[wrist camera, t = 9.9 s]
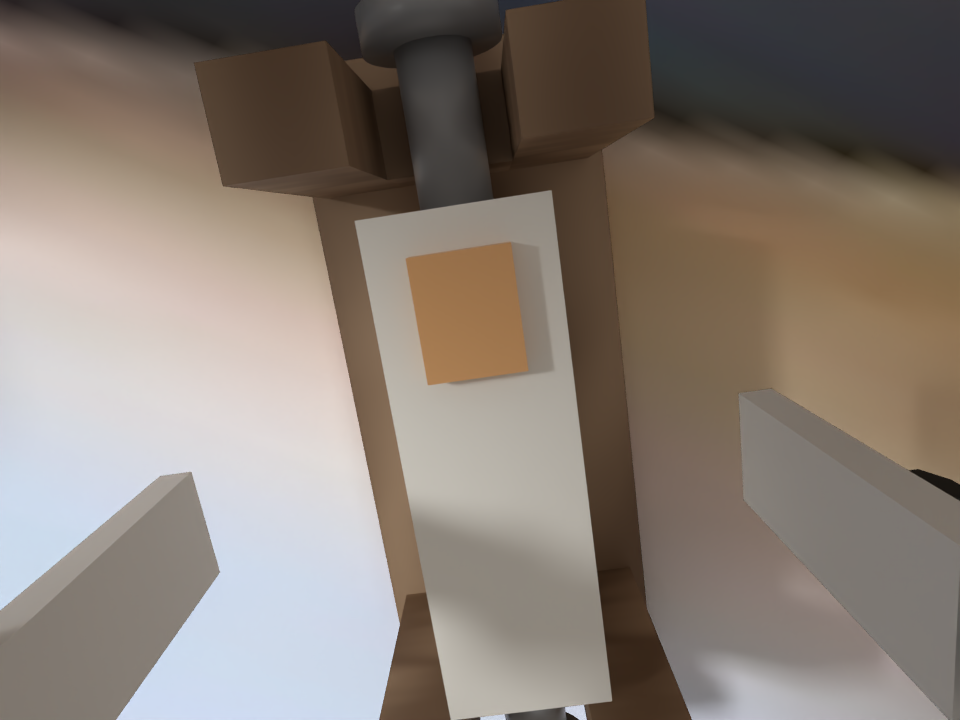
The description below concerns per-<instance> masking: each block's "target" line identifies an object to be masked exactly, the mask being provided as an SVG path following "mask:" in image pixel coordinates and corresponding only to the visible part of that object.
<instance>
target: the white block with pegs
mask: <svg viewBox="0 0 960 720" xmlns="http://www.w3.org/2000/svg"><path fill="white" fill-rule="evenodd" d="M355 18H356V24H357V29H358V35H359V40H360V46H361V52H362V57H363V59H364V60H365V61H366V62H367V63H369V64H371V65H374V66H378V67H384V68H395V69H397V75H398V81H399V87H400V93H401V99H402V104H403V110H404V116H405V122H406V128H407V134H408V140H409V146H410V152H411V158H412V164H413V170H414V176H415V182H416V188H417V194H418V200H419V206H420V211H415V212H408V213H402V214H395V215H389V216H383V217H376V218H370V219H363V220H357V221H355V226H356V231H357V236H358V241H359V246H360V252H361V257H362V262H363V267H364V272H365V278H366V283H367V288H368V293H369V298H370V304H371V309H372V314H373V319H374V324H375V329H376V335H377V340H378V345H379V350H380V355H381V361H382V366H383V371H384V376H385V381H386V386H387V392H388V397H389V402H390V407H391V412H392V418H393V423H394V428H395V433H396V438H397V444H398V449H399V454H400V459H401V464H402V469H403V475H404V480H405V485H406V490H407V495H408V501H409V506H410V511H411V516H412V521H413V527H414V532H415V537H416V542H417V547H418V552H419V558H420V563H421V568H422V573H423V578H424V584H425V589H426V594H427V599H428V604H429V609H430V615H431V620H432V625H433V630H434V635H435V641H436V646H437V651H438V656H439V661H440V667H441V672H442V677H443V682H444V687H445V692H446V698H447V703H448V708H449V713H450V718H451V720H459V719H468V718H476V717H484V716H493V715H501V714H505V718H506V720H578V719H577V718H576V717H574V716H573V715H571V714H569V713H567V712H565V707H568V706H577V705H585V704H593V703H602V702H610V701H612V694H611V686H610V677H609V669H608V660H607V652H606V644H605V635H604V627H603V618H602V610H601V602H600V593H599V585H598V576H597V568H596V560H595V551H594V543H593V534H592V526H591V518H590V509H589V501H588V492H587V484H586V476H585V467H584V459H583V450H582V442H581V434H580V425H579V417H578V408H577V400H576V391H575V383H574V375H573V366H572V358H571V349H570V341H569V333H568V324H567V316H566V307H565V299H564V291H563V282H562V274H561V265H560V257H559V249H558V240H557V232H556V223H555V215H554V207H553V198H552V190H549V191H543V192H537V193H530V194H524V195H517V196H511V197H504V198H498V199H493V192H492V185H491V178H490V171H489V164H488V157H487V150H486V143H485V136H484V128H483V121H482V114H481V107H480V100H479V93H478V86H477V79H476V71H475V64H474V56H477V55H479V54H482V53H484V52H486V51H488V50H490V49H491V48H493V47H494V46H496V45H497V44H498V43H499V42H500V41H501V39H502V30H501V22H500V14H499V7H498V0H361V1H360V2H359V3H358V4H357V6H356V8H355Z"/></svg>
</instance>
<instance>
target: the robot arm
mask: <svg viewBox="0 0 960 720" xmlns="http://www.w3.org/2000/svg"><path fill="white" fill-rule="evenodd" d="M739 414H740V435H741V456H742V477H743V498H744V501H745V502H746V503H747V504H748V505H749V506H750V507H751V508H752V509H753V510H754V512H755V513H756V514H757V515H758V516H759V517H760V518H761V519H762V520H763V521H764V522H765V523H766V524H767V525H768V527H769V528H770V529H771V530H772V531H773V532H774V533H775V534H776V535H777V536H778V537H779V538H780V539H781V541H782V542H783V543H784V544H785V545H786V546H787V547H788V548H789V549H790V550H791V551H792V552H793V553H794V554H795V556H796V557H797V558H798V559H799V560H800V561H801V562H802V563H803V564H804V565H805V566H806V567H807V568H808V569H809V571H810V572H811V573H812V574H813V575H814V576H815V577H816V578H817V579H818V580H819V581H820V582H821V583H822V584H823V586H824V587H825V588H826V589H827V590H828V591H829V592H830V593H831V594H832V595H833V596H834V597H835V598H836V599H837V601H838V602H839V603H840V604H841V605H842V606H843V607H844V608H845V609H846V610H847V611H848V612H849V613H850V615H851V616H852V617H853V618H854V619H855V620H856V621H857V622H858V623H859V624H860V625H861V626H862V627H863V628H864V630H865V631H866V632H867V633H868V634H869V635H870V636H871V637H872V638H873V639H874V640H875V641H876V642H877V643H878V645H879V646H880V647H881V648H882V649H883V650H884V651H885V652H886V653H887V654H888V655H889V656H890V657H891V658H892V660H893V661H894V662H895V663H896V664H897V665H898V666H899V667H900V668H901V669H902V670H903V671H904V672H905V673H906V675H907V676H908V677H909V678H910V679H911V680H912V681H913V682H914V683H915V684H916V685H917V686H918V687H919V689H920V690H921V691H922V692H923V693H924V694H925V695H926V696H927V697H928V698H929V699H930V700H931V701H932V702H933V704H934V705H935V706H936V707H937V708H938V709H939V710H940V711H941V712H942V713H943V714H944V715H945V716H946V717H947V719H948V720H960V484H958V483H956V482H954V481H953V480H950V479H947V478H944V477H941V476H938V475H935V474H932V473H928V472H925V471H922V470H919V469H916V470H907V469H905V468H904V467H902V466H900V465H898V464H897V463H895V462H893V461H892V460H890V459H888V458H887V457H885V456H883V455H882V454H880V453H878V452H877V451H875V450H873V449H872V448H870V447H868V446H867V445H865V444H863V443H862V442H860V441H858V440H857V439H855V438H853V437H852V436H850V435H848V434H847V433H845V432H843V431H842V430H840V429H838V428H837V427H835V426H833V425H831V424H830V423H828V422H826V421H825V420H823V419H821V418H820V417H818V416H816V415H815V414H813V413H811V412H810V411H808V410H806V409H805V408H803V407H801V406H800V405H798V404H796V403H795V402H793V401H791V400H790V399H788V398H786V397H785V396H783V395H781V394H780V393H778V392H776V391H775V390H773V389H765V390H758V391H751V392H744V393H739ZM219 573H220V571H219V567H218V564H217V560H216V557H215V553H214V550H213V546H212V543H211V539H210V536H209V532H208V529H207V525H206V522H205V518H204V515H203V511H202V508H201V504H200V501H199V497H198V494H197V490H196V487H195V483H194V480H193V476H192V473H191V472H186V473H179V474H172V475H165V476H160V477H159V478H157V479H156V480H155V481H154V482H153V483H151V484H150V485H149V486H148V487H147V488H145V489H144V490H143V491H142V492H141V493H140V494H138V495H137V496H136V497H135V498H134V499H132V500H131V501H130V502H129V503H128V504H126V505H125V506H124V507H123V508H122V509H121V510H119V511H118V512H117V513H116V514H115V515H113V516H112V517H111V518H110V519H109V520H107V521H106V522H105V523H104V524H103V525H102V526H100V527H99V528H98V529H97V530H96V531H94V532H93V533H92V534H91V535H90V536H88V537H87V538H86V539H85V540H84V541H82V542H81V543H80V544H79V545H78V546H77V547H75V548H74V549H73V550H72V551H71V552H69V553H68V554H67V555H66V556H65V557H63V558H62V559H61V560H60V561H59V562H58V563H56V564H55V565H54V566H53V567H52V568H50V569H49V570H48V571H47V572H46V573H44V574H43V575H42V576H41V577H40V578H39V579H37V580H36V581H35V582H34V583H33V584H31V585H30V586H29V587H28V588H27V589H25V590H24V591H23V592H22V593H21V594H19V595H18V596H17V597H16V598H15V599H14V600H12V601H11V602H10V603H9V604H8V605H6V606H5V607H4V608H3V609H2V610H0V720H116V719H117V717H118V716H119V715H120V713H121V712H122V710H123V709H124V708H125V706H126V705H127V703H128V702H129V701H130V699H131V698H132V696H133V695H134V693H135V692H136V691H137V689H138V688H139V686H140V685H141V684H142V682H143V681H144V679H145V678H146V676H147V675H148V674H149V672H150V671H151V669H152V668H153V667H154V665H155V664H156V662H157V661H158V659H159V658H160V657H161V655H162V654H163V652H164V651H165V650H166V648H167V647H168V645H169V644H170V642H171V641H172V640H173V638H174V637H175V635H176V634H177V633H178V631H179V630H180V628H181V627H182V625H183V624H184V623H185V621H186V620H187V618H188V617H189V616H190V614H191V613H192V611H193V610H194V608H195V607H196V606H197V604H198V603H199V601H200V600H201V599H202V597H203V596H204V594H205V593H206V591H207V590H208V589H209V587H210V586H211V584H212V583H213V582H214V580H215V579H216V577H217V576H218V574H219Z"/></svg>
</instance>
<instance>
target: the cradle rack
mask: <svg viewBox="0 0 960 720" xmlns="http://www.w3.org/2000/svg"><path fill="white" fill-rule="evenodd" d="M474 64H475V71H476V79H477V86H478V93H479V100H480V107H481V114H482V121H483V128H484V136H485V143H486V150H487V157H488V164H489V171H490V178H491V185H492V192H493V199H498V198H504V197H511V196H517V195H524V194H530V193H537V192H543V191H549V190H552V198H553V207H554V215H555V223H556V232H557V240H558V249H559V257H560V265H561V274H562V282H563V291H564V299H565V307H566V316H567V324H568V333H569V341H570V349H571V358H572V366H573V375H574V383H575V391H576V400H577V408H578V417H579V425H580V434H581V442H582V450H583V459H584V467H585V476H586V484H587V492H588V501H589V509H590V518H591V526H592V534H593V543H594V551H595V560H596V568H597V576H598V585H599V593H600V602H601V610H602V618H603V627H604V635H605V644H606V652H607V660H608V669H609V677H610V686H611V694H612V701H610V702H602V703H593V704H585V705H584V707H585V712H586V717H587V720H692V719H691V716H690V714H689V712H688V709H687V707H686V704H685V702H684V699H683V697H682V694H681V692H680V689H679V687H678V684H677V682H676V679H675V677H674V675H673V672H672V670H671V667H670V665H669V662H668V660H667V657H666V655H665V652H664V650H663V647H662V645H661V642H660V640H659V638H658V635H657V633H656V630H655V628H654V625H653V623H652V620H651V618H650V615H649V613H648V610H647V606H646V596H645V586H644V575H643V565H642V555H641V545H640V534H639V524H638V514H637V504H636V493H635V483H634V473H633V463H632V452H631V442H630V432H629V422H628V411H627V401H626V391H625V381H624V370H623V360H622V350H621V340H620V329H619V319H618V309H617V299H616V288H615V278H614V268H613V258H612V247H611V237H610V227H609V217H608V206H607V196H606V186H605V176H604V165H603V155H602V149H603V148H605V147H607V146H608V145H610V144H612V143H613V142H615V141H617V140H618V139H620V138H622V137H623V136H625V135H627V134H628V133H630V132H632V131H633V130H635V129H637V128H638V127H640V126H642V125H643V124H645V123H646V122H648V121H650V120H651V119H653V118H655V117H654V104H653V91H652V78H651V66H650V53H649V40H648V27H647V14H646V1H645V0H563V1H557V2H551V3H545V4H539V5H533V6H527V7H521V8H515V9H509V10H506V14H505V25H504V34H502V39H501V41H500V42H499V43H498V44H497V45H496V46H494V47H493V48H491V49H490V50H488V51H486V52H484V53H482V54H479V55H477V56H474ZM194 66H195V70H196V74H197V79H198V83H199V87H200V91H201V95H202V100H203V104H204V108H205V112H206V117H207V121H208V125H209V129H210V133H211V138H212V142H213V146H214V150H215V155H216V159H217V163H218V167H219V172H220V176H221V180H222V184H223V186H226V187H234V188H243V189H251V190H259V191H268V192H276V193H284V194H293V195H301V196H309V197H313V202H314V207H315V212H316V216H317V221H318V226H319V231H320V236H321V241H322V246H323V251H324V256H325V260H326V265H327V270H328V275H329V280H330V285H331V290H332V295H333V299H334V304H335V309H336V314H337V319H338V324H339V329H340V334H341V338H342V343H343V348H344V353H345V358H346V363H347V368H348V373H349V378H350V382H351V387H352V392H353V397H354V402H355V407H356V412H357V417H358V421H359V426H360V431H361V436H362V441H363V446H364V451H365V456H366V461H367V465H368V470H369V475H370V480H371V485H372V490H373V495H374V500H375V504H376V509H377V514H378V519H379V524H380V529H381V534H382V539H383V543H384V548H385V553H386V558H387V563H388V568H389V573H390V578H391V583H392V587H393V592H394V597H395V602H396V607H397V612H398V617H399V622H400V627H399V632H398V636H397V641H396V645H395V650H394V655H393V659H392V664H391V668H390V673H389V678H388V682H387V687H386V691H385V696H384V701H383V705H382V710H381V714H380V719H379V720H451V718H450V713H449V708H448V703H447V698H446V692H445V687H444V682H443V677H442V672H441V667H440V661H439V656H438V651H437V646H436V641H435V635H434V630H433V625H432V620H431V615H430V609H429V604H428V599H427V594H426V589H425V584H424V578H423V573H422V568H421V563H420V558H419V552H418V547H417V542H416V537H415V532H414V527H413V521H412V516H411V511H410V506H409V501H408V495H407V490H406V485H405V480H404V475H403V469H402V464H401V459H400V454H399V449H398V444H397V438H396V433H395V428H394V423H393V418H392V412H391V407H390V402H389V397H388V392H387V386H386V381H385V376H384V371H383V366H382V361H381V355H380V350H379V345H378V340H377V335H376V329H375V324H374V319H373V314H372V309H371V304H370V298H369V293H368V288H367V283H366V278H365V272H364V267H363V262H362V257H361V252H360V246H359V241H358V236H357V231H356V226H355V221H357V220H363V219H370V218H376V217H383V216H389V215H395V214H402V213H408V212H415V211H420V206H419V200H418V194H417V188H416V182H415V176H414V170H413V164H412V158H411V152H410V146H409V140H408V134H407V128H406V122H405V116H404V110H403V104H402V99H401V93H400V87H399V81H398V75H397V69H395V68H384V67H378V66H374V65H371V64H369V63H367V62H366V61H365V60H364V59H363V58H359V59H353V60H347V61H344V60H343V59H342V58H341V57H340V56H339V55H338V54H337V52H336V51H335V50H334V49H333V48H332V47H331V46H330V45H329V44H328V43H327V42H326V41H320V42H314V43H308V44H302V45H296V46H290V47H284V48H278V49H273V50H267V51H261V52H255V53H249V54H243V55H237V56H231V57H225V58H219V59H213V60H207V61H202V62H196V63H194ZM459 720H480V717H476V718H468V719H459Z"/></svg>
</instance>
